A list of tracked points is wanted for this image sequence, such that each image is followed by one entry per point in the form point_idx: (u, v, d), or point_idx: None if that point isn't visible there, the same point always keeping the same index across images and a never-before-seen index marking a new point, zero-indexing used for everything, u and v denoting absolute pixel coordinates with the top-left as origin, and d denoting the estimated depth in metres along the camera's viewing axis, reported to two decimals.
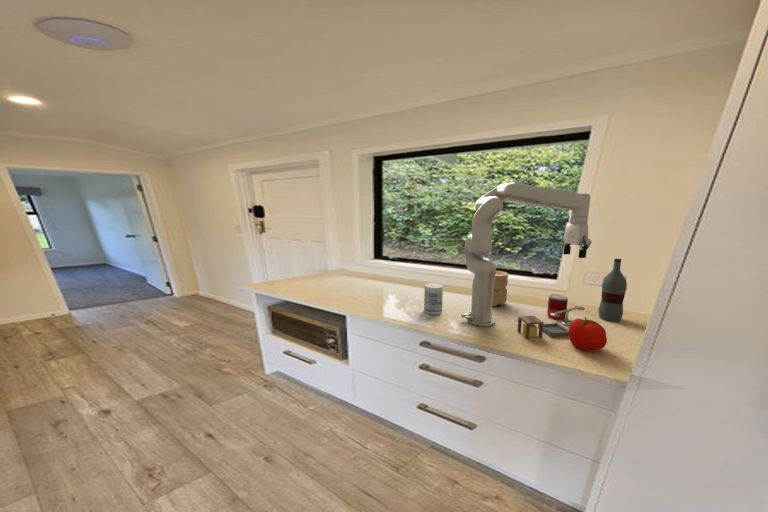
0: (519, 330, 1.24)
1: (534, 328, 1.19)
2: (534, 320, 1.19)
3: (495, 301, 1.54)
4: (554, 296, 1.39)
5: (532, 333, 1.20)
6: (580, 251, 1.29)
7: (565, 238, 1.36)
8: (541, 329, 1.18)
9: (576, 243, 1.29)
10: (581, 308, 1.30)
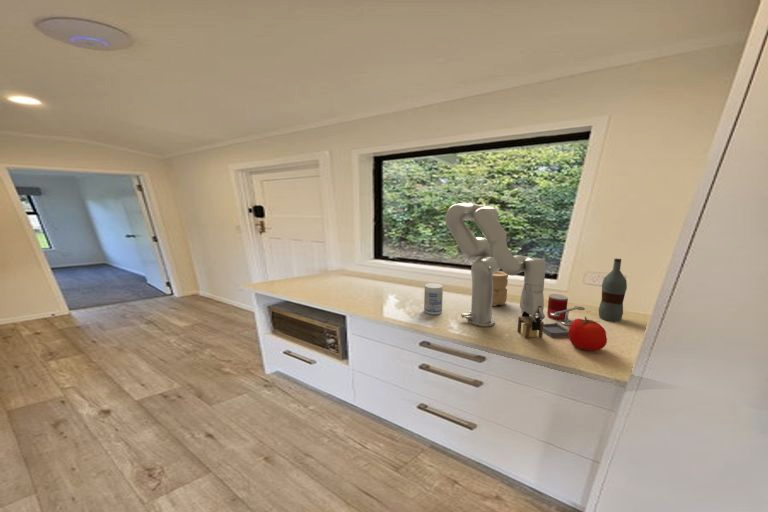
0: (519, 330, 1.24)
1: None
2: None
3: (495, 301, 1.54)
4: (554, 296, 1.39)
5: (532, 333, 1.20)
6: (533, 323, 1.17)
7: (521, 304, 1.23)
8: (541, 329, 1.18)
9: (531, 313, 1.16)
10: (581, 308, 1.30)
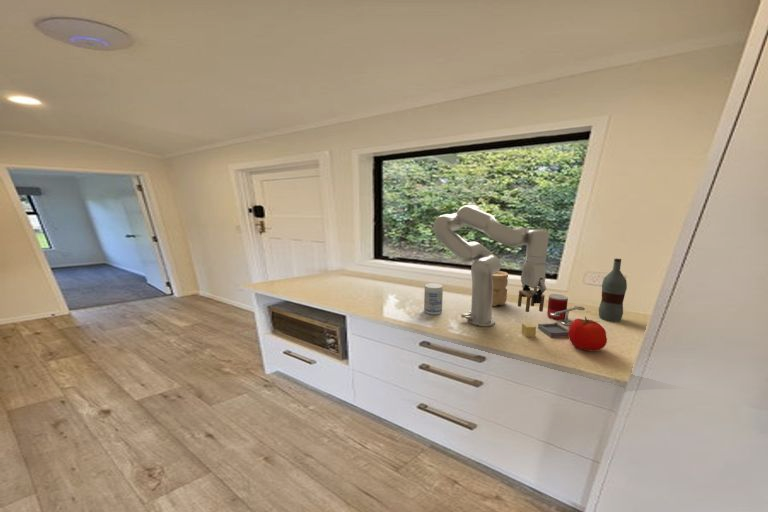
0: (519, 304, 1.22)
1: (533, 328, 1.20)
2: None
3: (495, 301, 1.54)
4: (554, 296, 1.39)
5: (530, 333, 1.20)
6: (534, 296, 1.15)
7: (522, 278, 1.21)
8: (542, 302, 1.16)
9: (532, 286, 1.14)
10: (581, 308, 1.30)
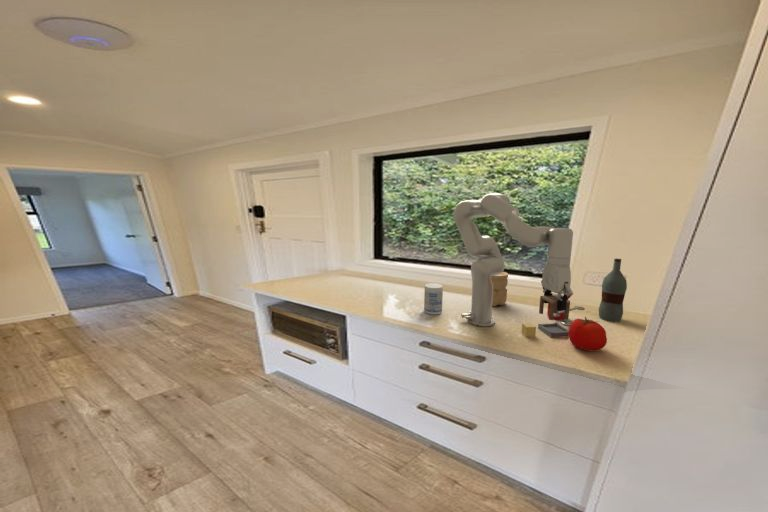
0: (541, 311, 1.10)
1: (533, 328, 1.20)
2: None
3: (495, 301, 1.54)
4: None
5: (530, 333, 1.20)
6: (559, 302, 1.03)
7: (543, 282, 1.09)
8: (567, 309, 1.04)
9: (556, 291, 1.02)
10: (581, 308, 1.30)
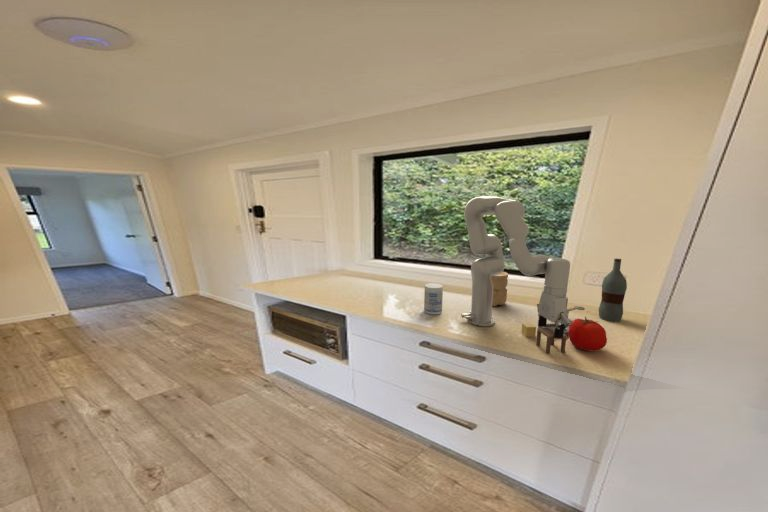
0: (538, 343, 1.12)
1: (533, 328, 1.20)
2: None
3: (495, 301, 1.54)
4: None
5: (530, 333, 1.20)
6: (556, 330, 1.04)
7: (540, 309, 1.11)
8: (564, 343, 1.06)
9: (551, 320, 1.04)
10: (581, 308, 1.30)
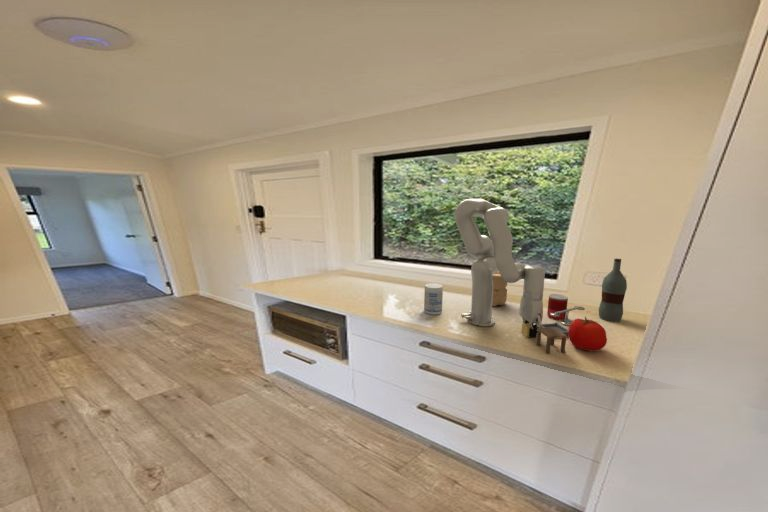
0: (538, 343, 1.12)
1: None
2: (556, 333, 1.08)
3: (495, 301, 1.54)
4: (554, 296, 1.39)
5: None
6: (530, 330, 1.19)
7: (520, 311, 1.23)
8: (564, 343, 1.06)
9: (530, 321, 1.17)
10: (581, 308, 1.30)
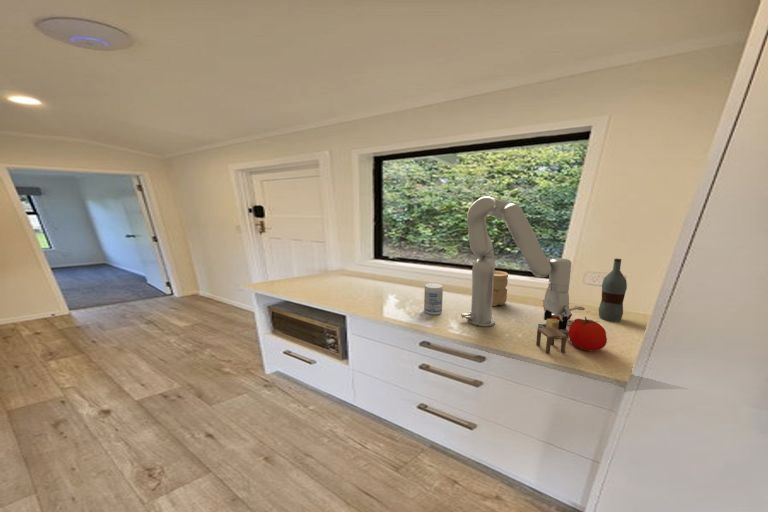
0: (538, 343, 1.12)
1: (558, 323, 1.21)
2: (556, 333, 1.08)
3: (495, 301, 1.54)
4: None
5: None
6: (560, 322, 1.18)
7: (545, 304, 1.25)
8: (564, 343, 1.06)
9: (556, 313, 1.18)
10: (581, 308, 1.30)
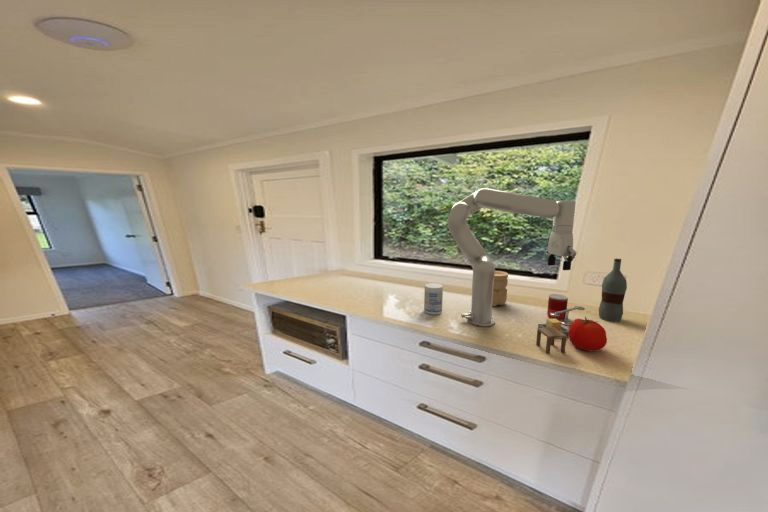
0: (538, 343, 1.12)
1: (558, 323, 1.21)
2: (556, 333, 1.08)
3: (495, 301, 1.54)
4: (554, 296, 1.39)
5: None
6: (564, 263, 1.18)
7: (549, 248, 1.25)
8: (564, 343, 1.06)
9: (560, 254, 1.19)
10: (581, 308, 1.30)
